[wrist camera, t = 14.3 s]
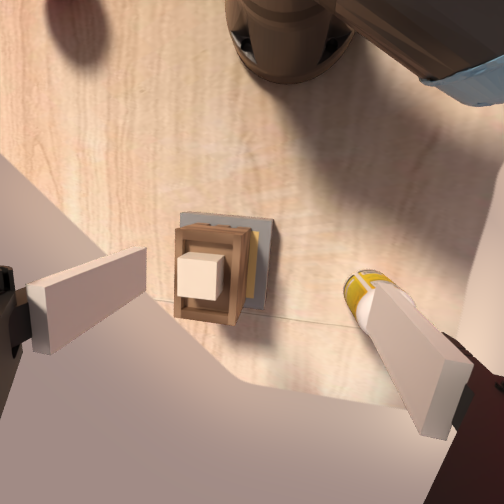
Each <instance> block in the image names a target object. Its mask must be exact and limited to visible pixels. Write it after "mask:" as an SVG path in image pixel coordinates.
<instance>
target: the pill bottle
mask: <svg viewBox="0 0 504 504" xmlns="http://www.w3.org/2000/svg"><path fill="white" fill-rule="evenodd" d="M377 282H380V283H387V284H392V285H393V286H394V287H395V288H396V289H397V290H398V291H399V292H400V293H401V294H402V295H404V296H405V297H406V298H407V299H408V300H409V301H410V302H411V303H412V304H413V305H414V306H415V307H416V305H415V303H414V301H413V299H412V298H411V297H410V296H409V295H408V294H407V293H406V292H405V291H403V290H402V289H401V288H400V287H398V286H397V285H396V284H395V283H393V282H392V281H391V280H390V279H389V278H387V277H386V276H385V275H384V274H382V273H381V272H379V271H377V270H373V269H362V270H358V271H356V272H354V273H353V274H351V275H350V276H349V277H348V278H347V280H346V281H345V284H344V287H343V295H344V298H345V301H346V303H347V305H348V306H349V308H350V310H351V312H352V314H353V315H354V317H355V319H356V321H357V323H358V324H359V326H360V327H361V329H362V330H363V331H364V332H365V333H366V334H367V335H368V336H369V334H368V332H367V330H366V326H367V321H368V317H369V313H370V309H371V305H372V300H373V296H374V292H375V288H376V284H377Z"/></svg>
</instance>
